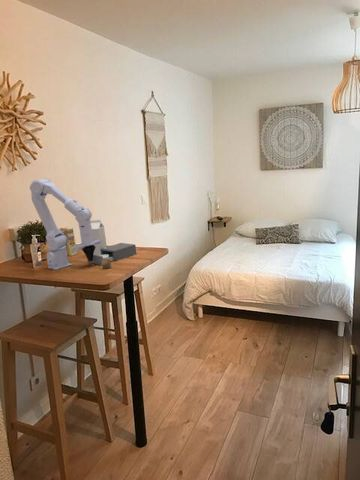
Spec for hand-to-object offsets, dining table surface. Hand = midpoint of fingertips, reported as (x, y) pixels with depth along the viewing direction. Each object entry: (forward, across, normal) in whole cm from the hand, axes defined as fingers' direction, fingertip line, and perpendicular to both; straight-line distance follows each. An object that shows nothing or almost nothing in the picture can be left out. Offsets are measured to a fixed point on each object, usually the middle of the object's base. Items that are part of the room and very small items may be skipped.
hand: (90, 260), depth 190 cm
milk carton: (+2, +16, +15) cm, 22 cm away
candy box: (+2, +9, +33) cm, 34 cm away
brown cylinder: (+2, +1, -12) cm, 12 cm away
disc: (+1, +8, 0) cm, 8 cm away
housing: (+2, +18, 0) cm, 18 cm away
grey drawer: (+2, +9, 0) cm, 10 cm away
